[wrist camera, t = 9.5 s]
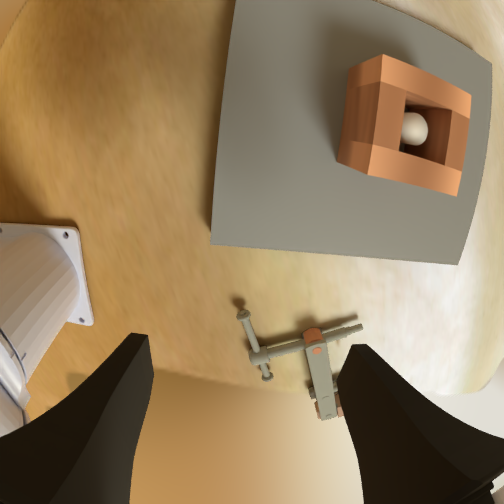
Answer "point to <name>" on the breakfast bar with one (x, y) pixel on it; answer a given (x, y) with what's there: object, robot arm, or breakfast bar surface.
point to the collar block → (391, 120)
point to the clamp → (317, 362)
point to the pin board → (334, 135)
